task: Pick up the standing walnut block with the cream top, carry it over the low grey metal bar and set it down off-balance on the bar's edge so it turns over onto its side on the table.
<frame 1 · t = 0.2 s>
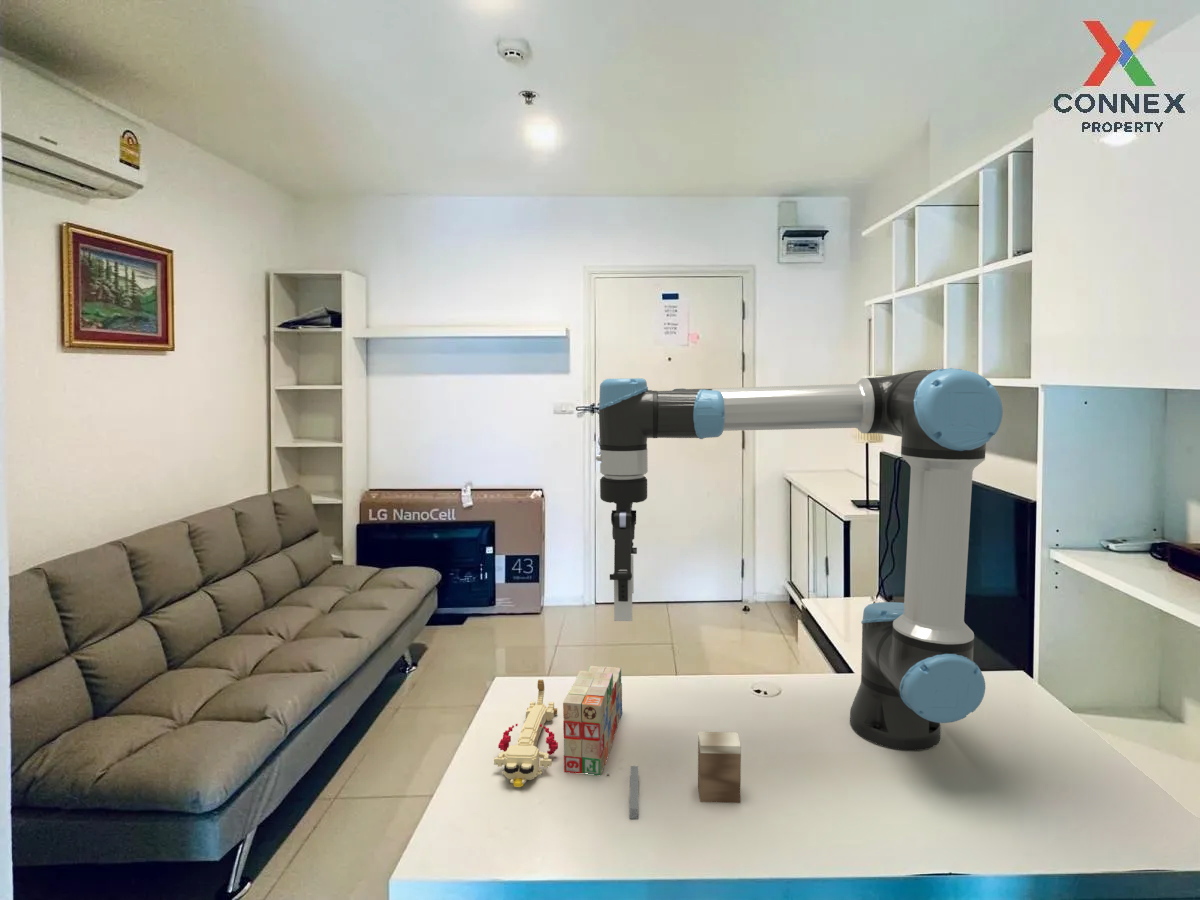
hand: (624, 605, 110), 27 cm above the table, tool pointing down, fingers open, 13 cm apart
stack of blocks: (595, 742, 121), on the table
cat figure: (531, 751, 118), on the table
grey bar: (634, 796, 104), on the table
walnut block: (718, 794, 105), on the table
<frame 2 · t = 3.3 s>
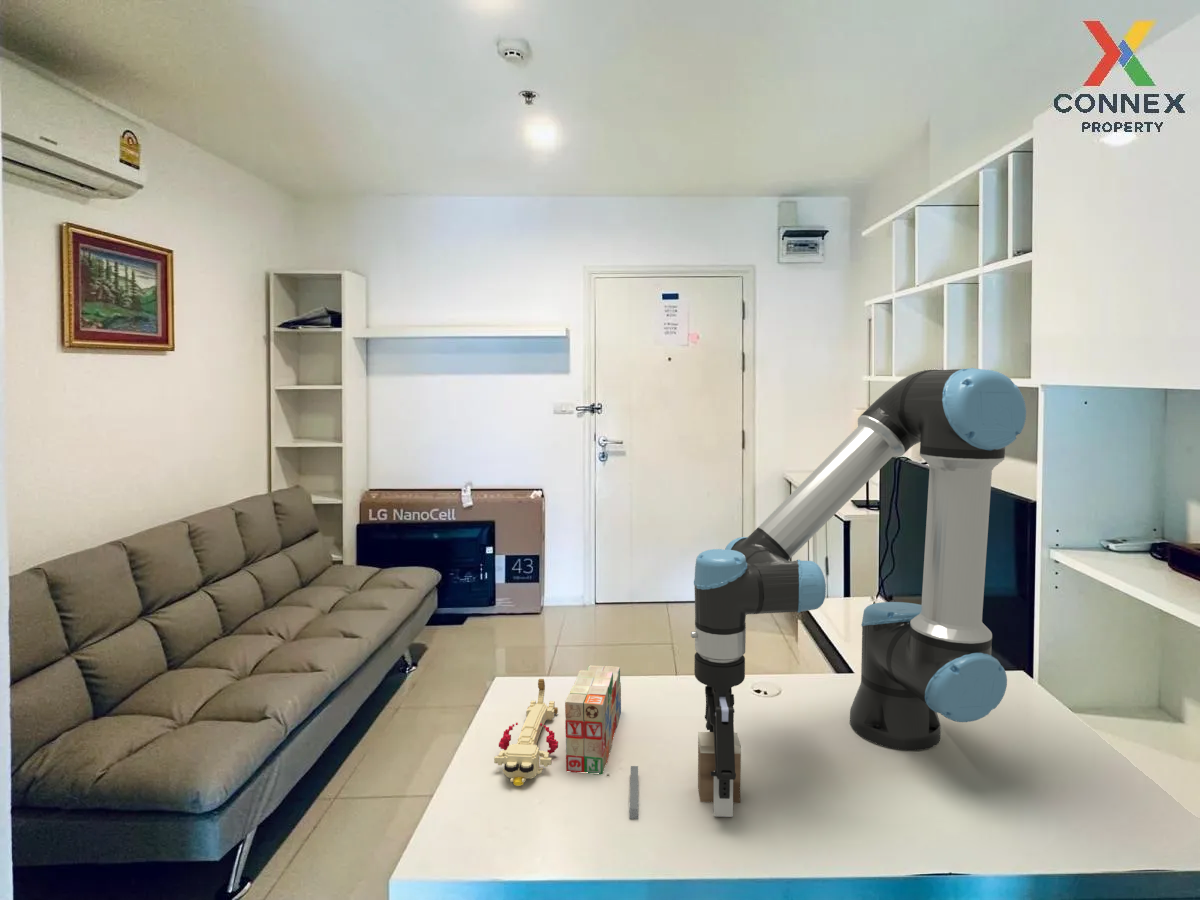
hand: (718, 792, 105), 0 cm above the table, tool pointing down, fingers open, 10 cm apart
nothing on the table moved.
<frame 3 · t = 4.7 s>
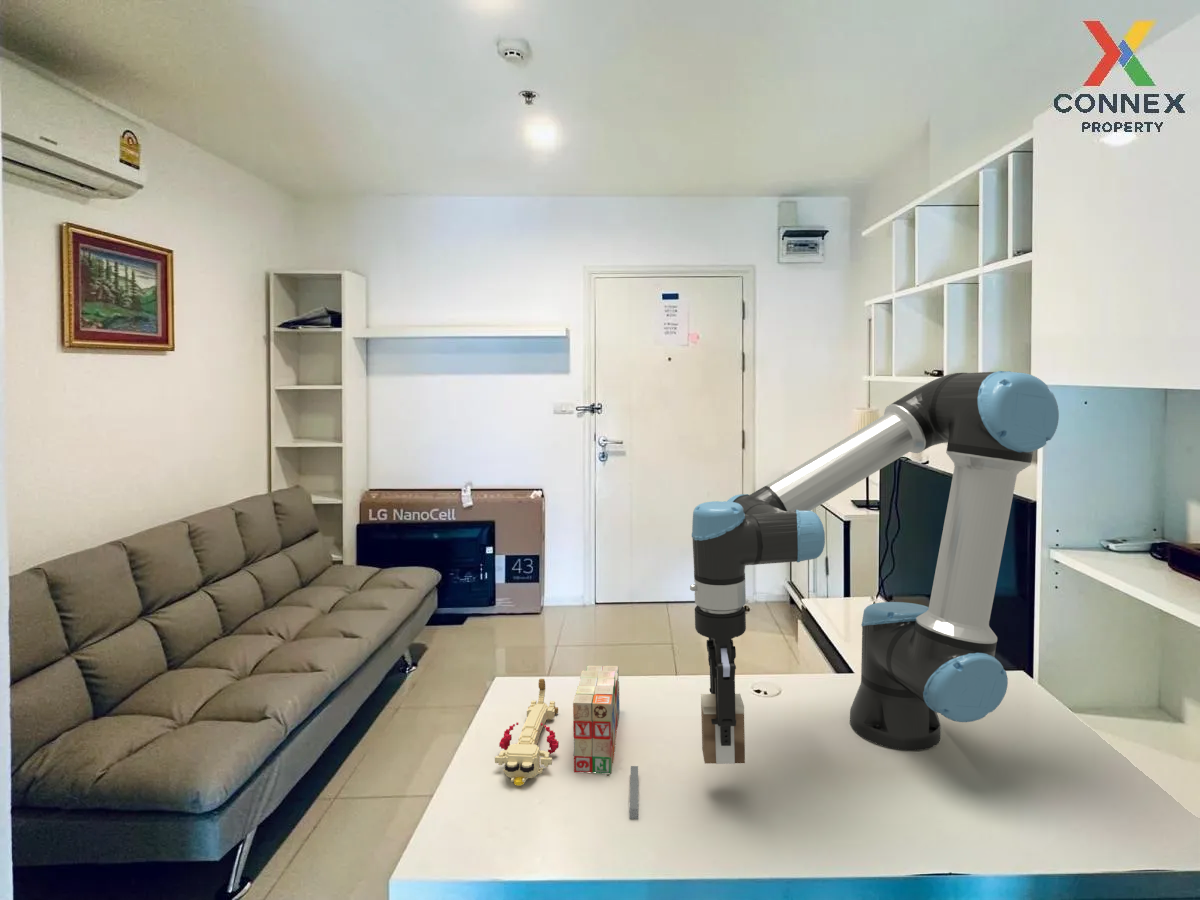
hand: (723, 753, 104), 7 cm above the table, tool pointing down, fingers closed on walnut block, 4 cm apart
walnut block: (723, 756, 104), point 6 cm above the table, touching gripper
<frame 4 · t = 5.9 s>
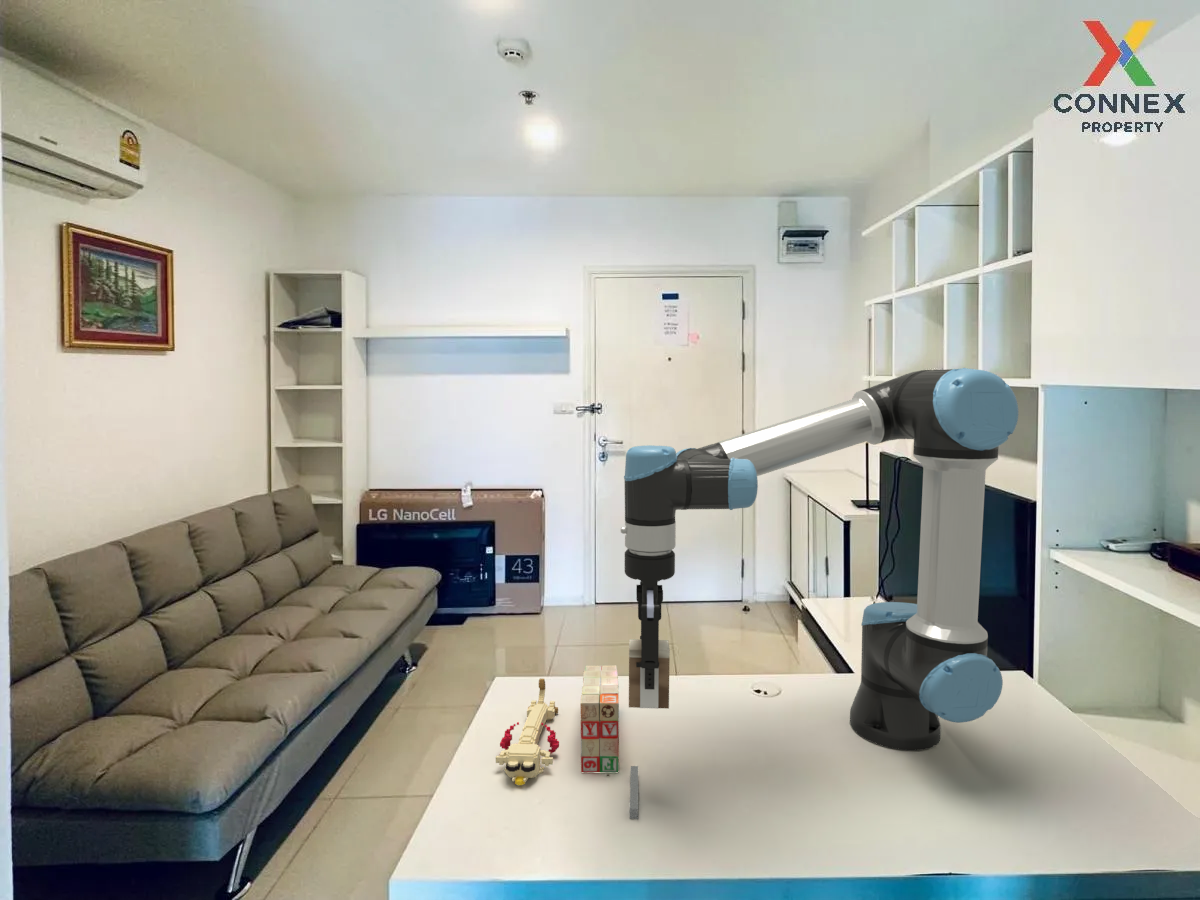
hand: (648, 699, 104), 15 cm above the table, tool pointing down, fingers closed on walnut block, 4 cm apart
walnut block: (648, 701, 104), point 15 cm above the table, touching gripper
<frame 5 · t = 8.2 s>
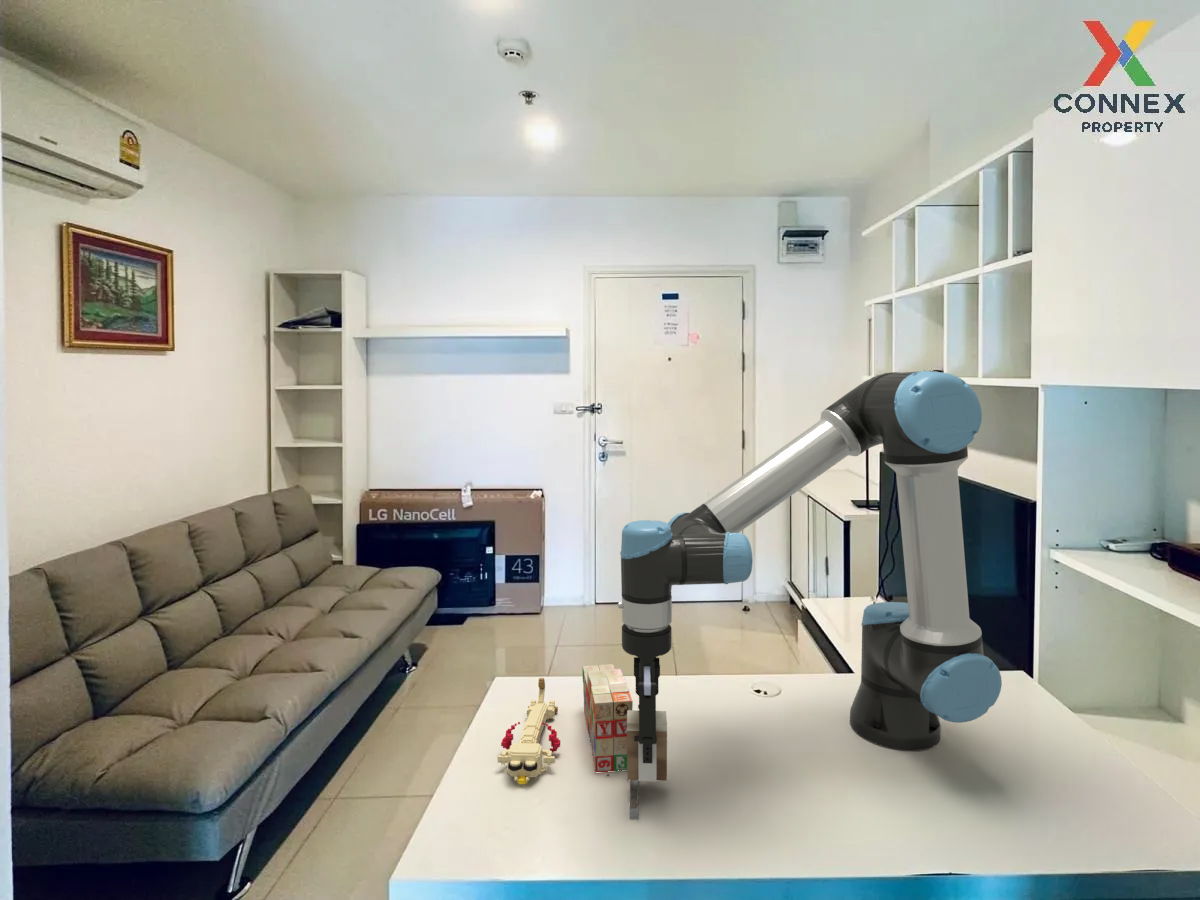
hand: (647, 770, 105), 4 cm above the table, tool pointing down, fingers closed on walnut block, 4 cm apart
walnut block: (646, 772, 105), point 3 cm above the table, touching gripper
when the fingers open (4 cm above the table, at t = 8.6 s): walnut block moves 3 cm and tips over, point 3 cm above the table.
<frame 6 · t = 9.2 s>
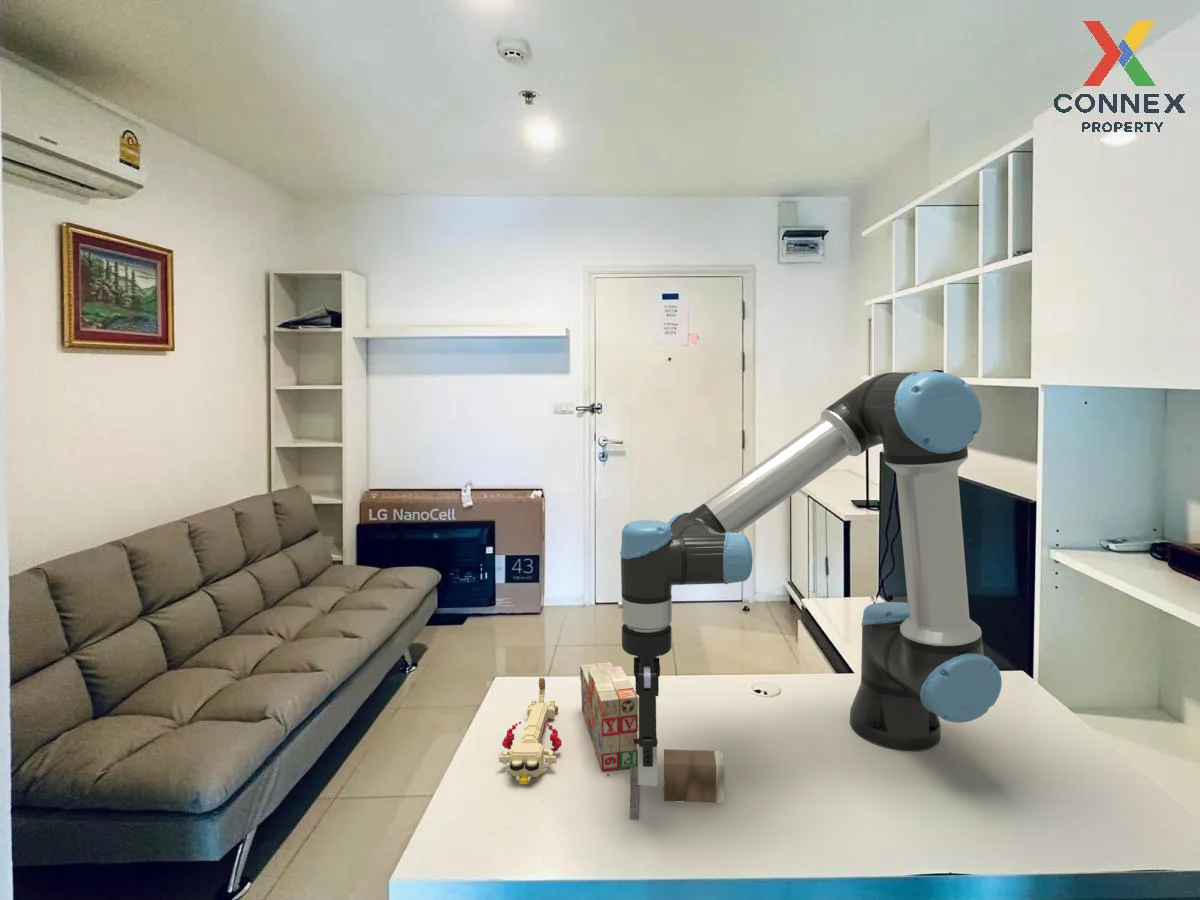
hand: (647, 759, 105), 5 cm above the table, tool pointing down, fingers open, 12 cm apart
stack of blocks: (607, 737, 122), on the table, touching gripper
walnut block: (664, 774, 105), point 3 cm above the table, tilted 90°
everything else where it was.
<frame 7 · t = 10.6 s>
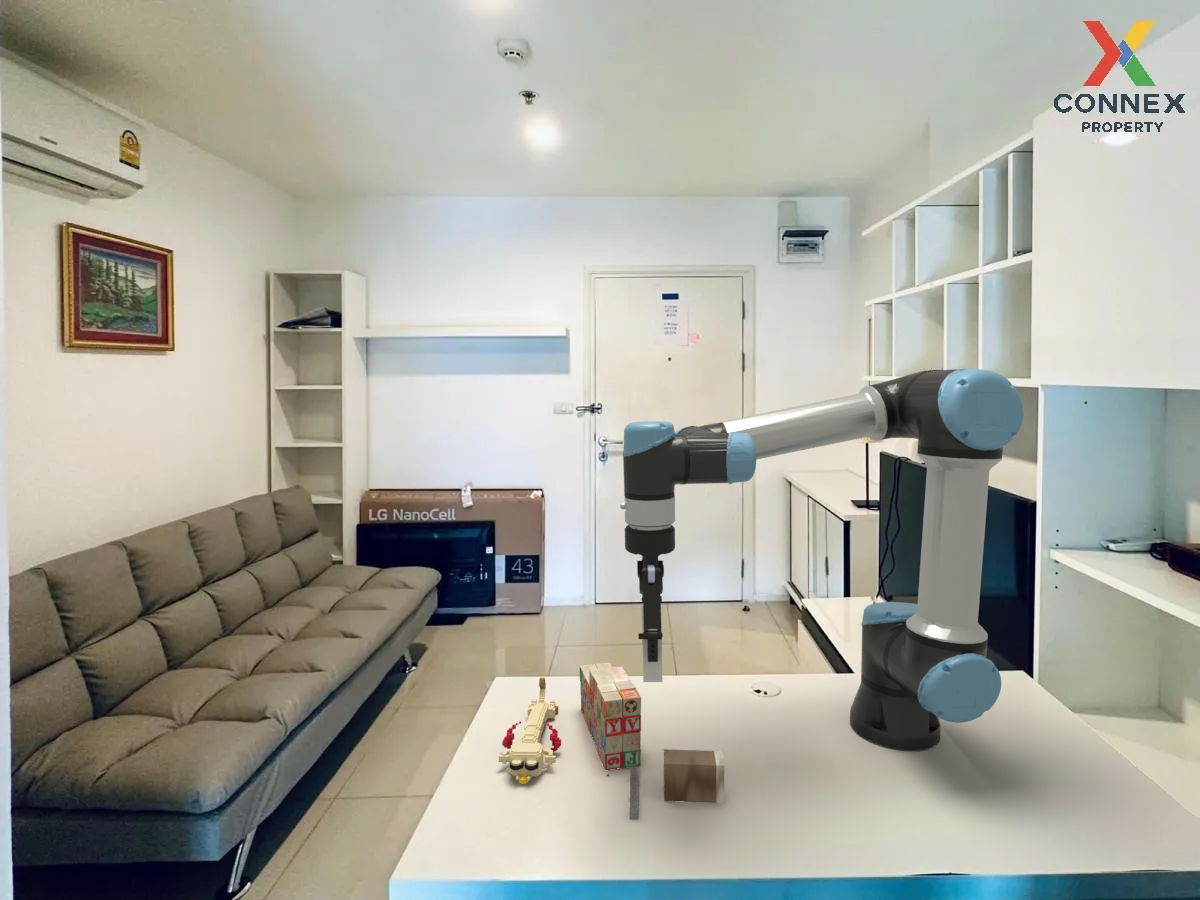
hand: (651, 661, 104), 21 cm above the table, tool pointing down, fingers open, 13 cm apart
stack of blocks: (608, 737, 122), on the table
everything else where it was.
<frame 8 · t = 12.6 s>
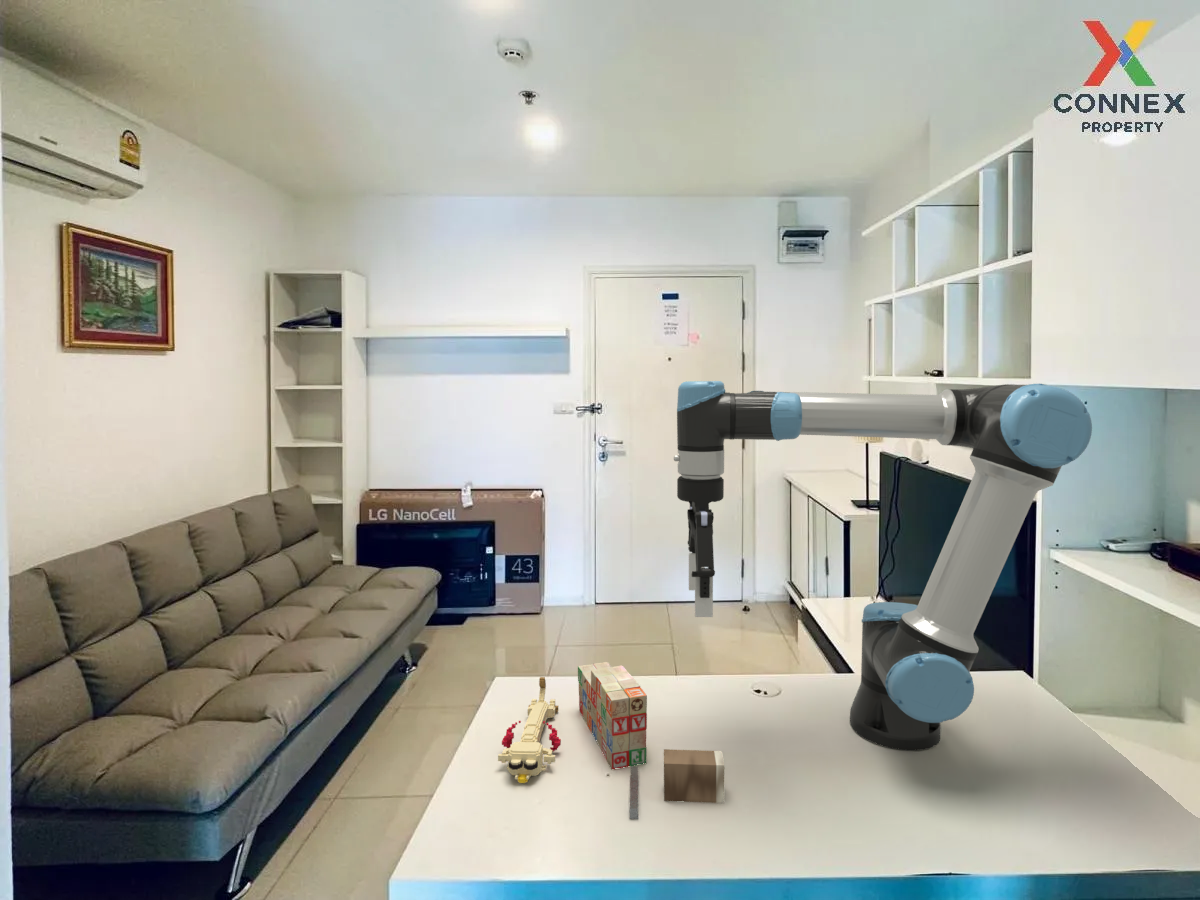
hand: (699, 602, 113), 27 cm above the table, tool pointing down, fingers open, 13 cm apart
at the end: walnut block tilted 90°; walnut block inside the target area (0.5 cm from its centre), point 3.0 cm above the table; the gripper is holding nothing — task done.
